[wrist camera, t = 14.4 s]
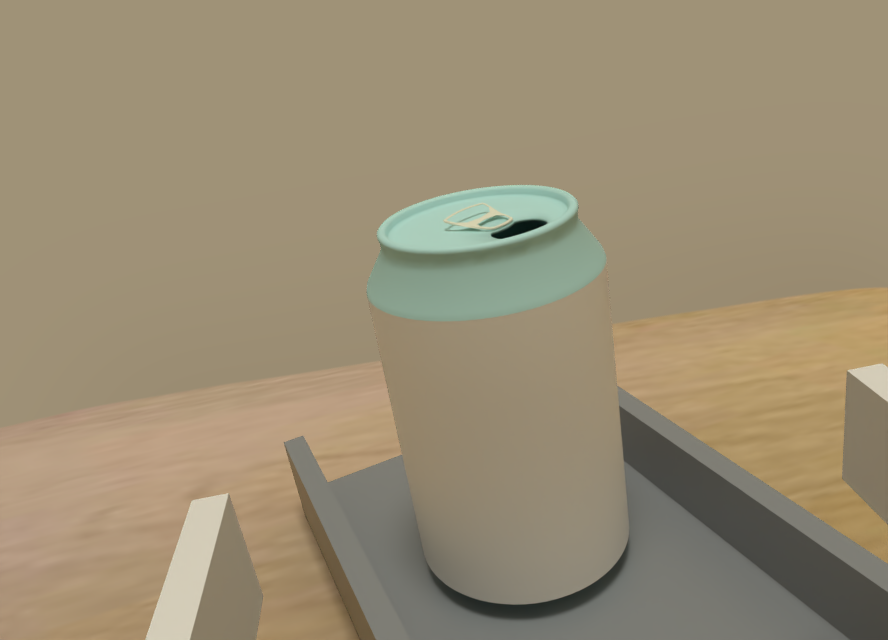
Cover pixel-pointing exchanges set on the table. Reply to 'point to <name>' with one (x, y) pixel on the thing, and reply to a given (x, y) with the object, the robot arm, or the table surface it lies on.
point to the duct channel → (633, 576)
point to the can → (504, 390)
